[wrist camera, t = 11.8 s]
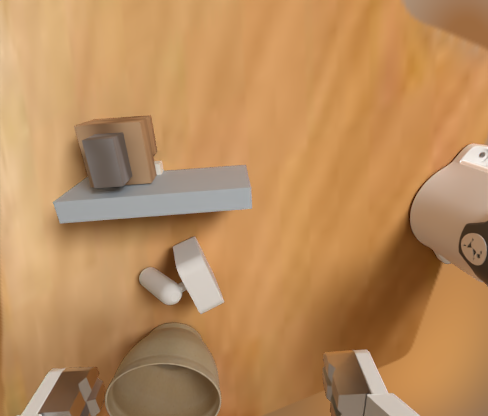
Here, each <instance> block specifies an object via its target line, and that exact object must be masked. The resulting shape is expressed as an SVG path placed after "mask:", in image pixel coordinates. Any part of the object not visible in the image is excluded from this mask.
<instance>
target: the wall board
mask: <svg viewBox="0 0 488 416" xmlns="http://www.w3.org/2000/svg"><path fill="white" fill-rule="evenodd" d="M154 163H155V169H156V174H157V176H156V177H155V179H154V180H153V182H152V183H146V184H132V185H124V186H120V187H106V188H94V187H92V188H91V186H90V182H89V179H88V177H86V178H85V179H84V180H82V181H81V182H80V183H78V184H77V185H76V186H74V187H73V188H72V189H70V190H69V191H67V192H66V193H65V194H63V195H62V196H61V197H59V198H58V199H57V200H55V201H54V202H53V204H54V207H55V210H56V213H57V216H58V219H59V222H60V223H72V222H85V221H98V220H111V219H124V218H137V217H150V216H163V215H176V214H189V213H202V212H215V211H228V210H241V209H252V198H251V185H250V181H249V177H248V173H247V168H246V165H238V166H224V167H210V168H197V169H183V170H169V171H164V170H163V165H162V161H154Z"/></svg>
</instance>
